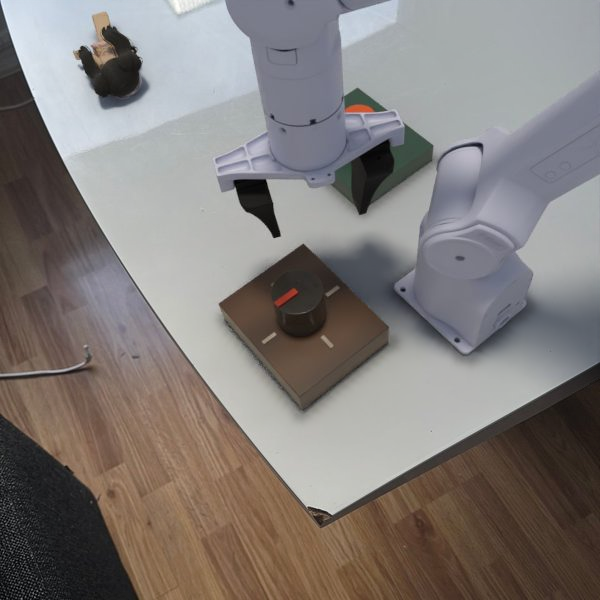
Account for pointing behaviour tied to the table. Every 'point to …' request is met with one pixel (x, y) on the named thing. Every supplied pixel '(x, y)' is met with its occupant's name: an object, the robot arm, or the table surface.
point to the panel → (313, 348)
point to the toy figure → (111, 61)
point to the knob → (299, 302)
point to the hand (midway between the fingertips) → (317, 217)
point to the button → (359, 109)
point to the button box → (405, 155)
